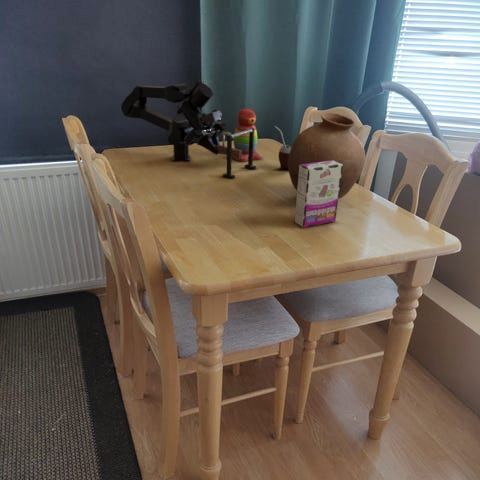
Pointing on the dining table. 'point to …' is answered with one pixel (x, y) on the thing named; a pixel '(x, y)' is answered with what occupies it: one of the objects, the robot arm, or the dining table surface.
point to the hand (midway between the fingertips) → (219, 153)
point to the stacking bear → (246, 135)
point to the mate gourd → (284, 154)
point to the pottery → (329, 149)
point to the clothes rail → (229, 151)
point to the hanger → (223, 149)
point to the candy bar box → (317, 193)
